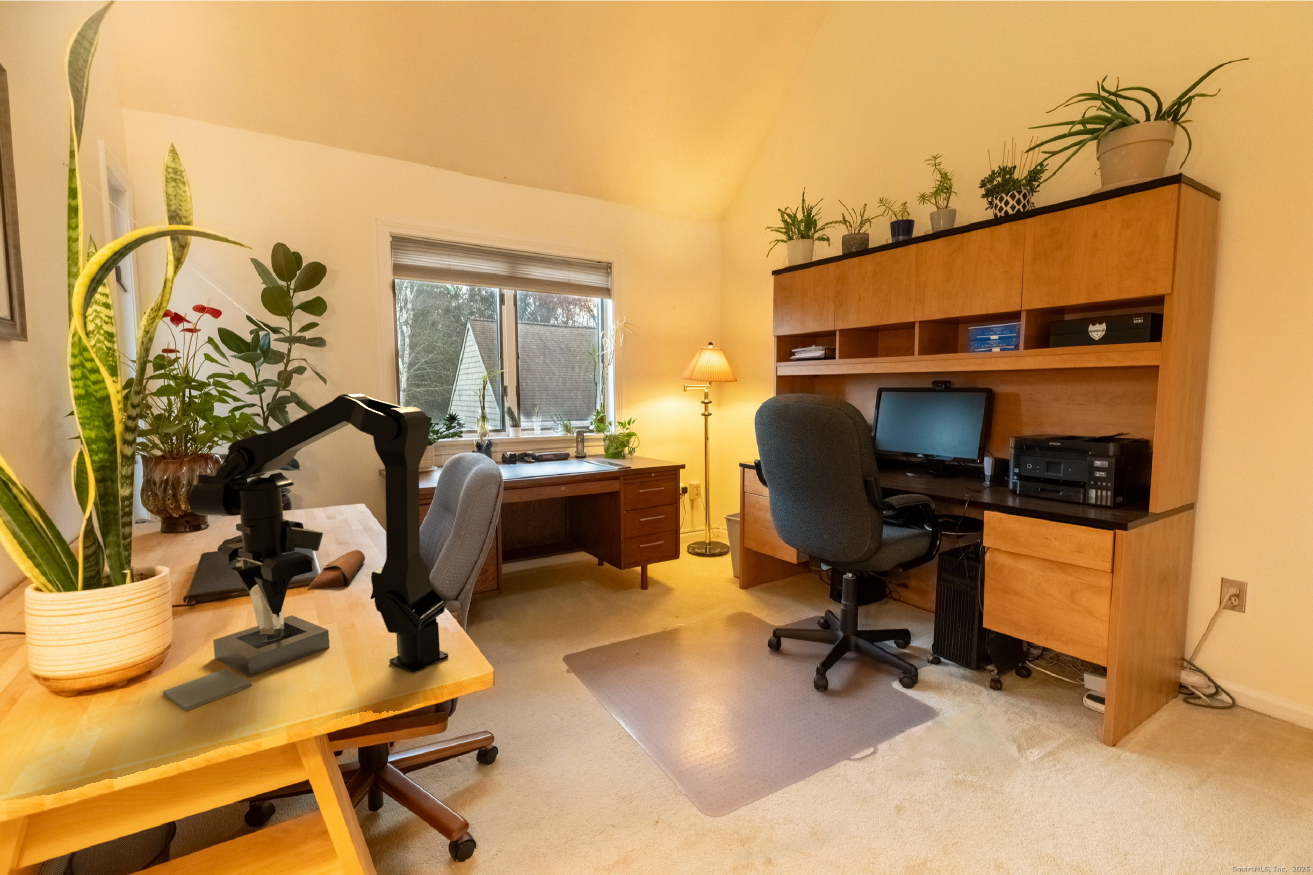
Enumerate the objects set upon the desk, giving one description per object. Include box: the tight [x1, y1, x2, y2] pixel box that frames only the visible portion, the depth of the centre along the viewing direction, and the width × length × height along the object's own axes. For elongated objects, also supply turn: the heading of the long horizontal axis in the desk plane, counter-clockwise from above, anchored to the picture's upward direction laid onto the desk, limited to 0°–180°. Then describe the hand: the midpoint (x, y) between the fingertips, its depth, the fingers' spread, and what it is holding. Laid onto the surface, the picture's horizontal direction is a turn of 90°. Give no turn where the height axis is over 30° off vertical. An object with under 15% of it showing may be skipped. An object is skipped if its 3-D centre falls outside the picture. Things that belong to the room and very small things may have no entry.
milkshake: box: [249, 584, 284, 641], centre depth 99 cm, size 5×5×10 cm
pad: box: [162, 668, 252, 711], centre depth 88 cm, size 8×8×1 cm
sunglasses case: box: [307, 549, 366, 591], centre depth 139 cm, size 18×7×7 cm, turn 16°
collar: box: [212, 614, 330, 678], centre depth 99 cm, size 12×12×3 cm
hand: (269, 610), depth 99 cm, fingers closed on milkshake, 4 cm apart
